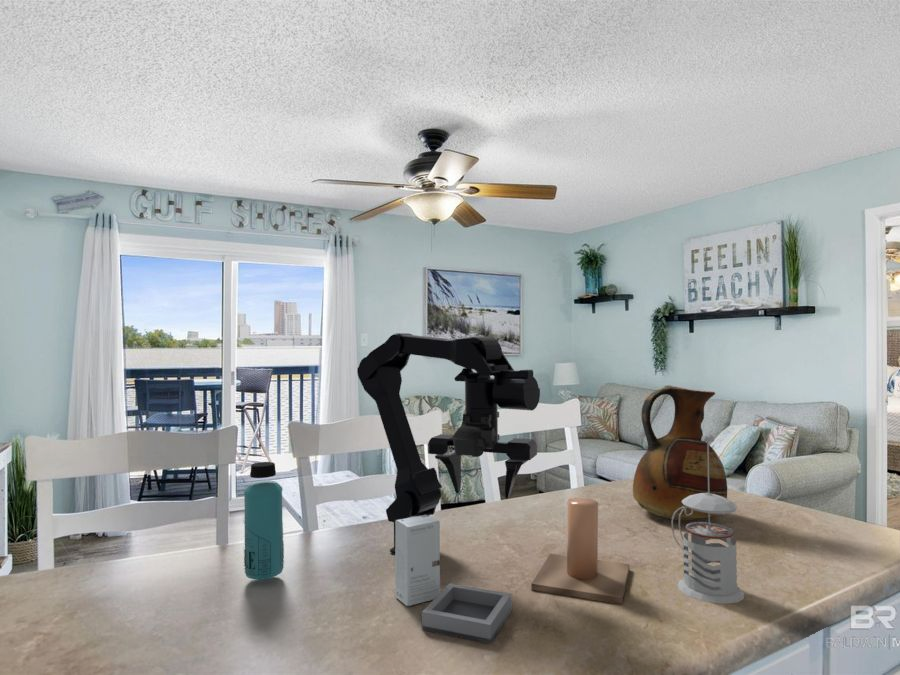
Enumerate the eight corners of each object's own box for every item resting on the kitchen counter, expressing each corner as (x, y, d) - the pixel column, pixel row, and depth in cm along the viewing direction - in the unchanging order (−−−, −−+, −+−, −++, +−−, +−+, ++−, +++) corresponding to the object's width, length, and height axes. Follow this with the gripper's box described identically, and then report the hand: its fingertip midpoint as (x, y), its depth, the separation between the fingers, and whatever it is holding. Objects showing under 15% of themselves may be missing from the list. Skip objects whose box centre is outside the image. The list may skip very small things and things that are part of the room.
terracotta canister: (571, 579, 91) (571, 506, 91) (563, 566, 96) (564, 497, 96) (601, 579, 92) (601, 506, 91) (592, 566, 97) (592, 497, 96)
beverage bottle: (292, 575, 96) (291, 459, 97) (267, 591, 90) (267, 467, 91) (260, 571, 99) (260, 457, 99) (234, 586, 92) (234, 465, 93)
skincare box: (407, 608, 84) (407, 527, 84) (393, 597, 88) (393, 519, 88) (442, 597, 88) (441, 520, 88) (427, 587, 91) (426, 513, 92)
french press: (717, 609, 83) (714, 440, 83) (655, 580, 93) (653, 430, 94) (758, 595, 87) (755, 435, 88) (695, 569, 98) (693, 426, 98)
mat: (531, 589, 90) (531, 583, 90) (550, 558, 103) (550, 553, 103) (621, 604, 85) (621, 597, 85) (629, 569, 98) (629, 564, 98)
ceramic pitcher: (744, 528, 119) (742, 388, 119) (650, 529, 119) (647, 389, 120) (704, 503, 138) (702, 382, 139) (622, 503, 139) (621, 383, 139)
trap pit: (422, 629, 78) (422, 611, 78) (449, 599, 87) (449, 583, 87) (490, 643, 74) (490, 624, 74) (511, 610, 83) (511, 593, 83)
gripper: (414, 410, 95) (414, 502, 95) (520, 414, 88) (521, 513, 88) (440, 404, 105) (440, 486, 105) (537, 407, 98) (538, 496, 98)
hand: (482, 495), depth 99 cm, fingers open, 9 cm apart
